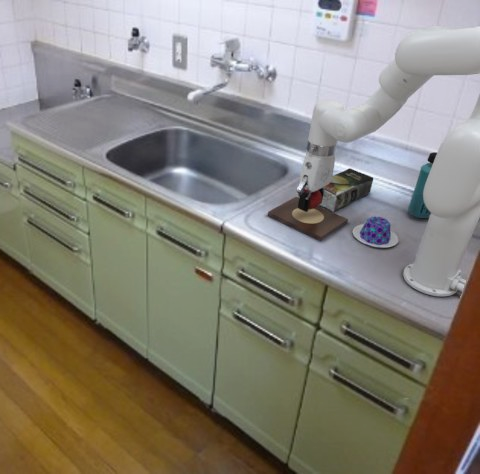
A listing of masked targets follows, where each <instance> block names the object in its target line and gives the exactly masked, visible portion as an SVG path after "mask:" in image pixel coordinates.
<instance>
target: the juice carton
mask: <svg viewBox="0 0 480 474" xmlns="http://www.w3.org/2000/svg"><path fill="white" fill-rule="evenodd" d="M373 182H374V177H373V176H371V175H368V174H365V173H362V172H360V171H358V170H355V169H353V168H350V167H349V168H347V169H345V170H344V171H339V172H338V173H336V174H333V176H332V180H331V182H330V183H329V184H328V185H326V189H325V191H324V194H323V199H322V203H321V204H319V205H318V206H319V207H322V208H324V209H326V210H328V211H331V212H333V213H335V212H336V211H338V210H340V209H342V208H344V207H345V206H347V205H348V204H351V203H353V202H356V201H357V200H360V199H362V198H364V197H366V196H368V195H370V193H371V190H372V187H373Z"/></svg>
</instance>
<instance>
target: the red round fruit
mask: <svg viewBox="0 0 480 474" xmlns="http://www.w3.org/2000/svg"><path fill="white" fill-rule="evenodd" d="M304 192H305V193H306V194H307V193H308V190H306V189H305V191H304ZM309 199H311V200H310V205H309V210H311V209H314V208H316V207H317V206H320V205H319V204H320V203H321V200H322V196H321V193H320V191H319V190H317V191H315V192H312V193H311V195H310V198H309Z"/></svg>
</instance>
